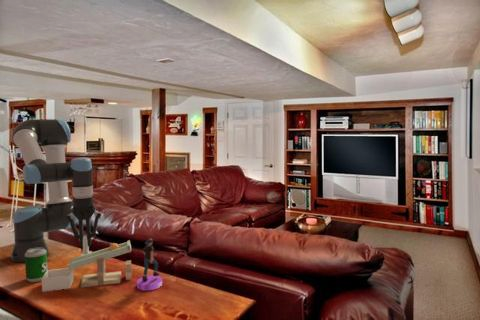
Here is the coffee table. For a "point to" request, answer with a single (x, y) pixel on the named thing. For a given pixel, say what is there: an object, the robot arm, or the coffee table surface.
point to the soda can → (35, 264)
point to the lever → (92, 256)
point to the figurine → (150, 280)
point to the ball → (114, 246)
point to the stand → (105, 275)
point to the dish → (57, 279)
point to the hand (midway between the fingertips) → (86, 254)
